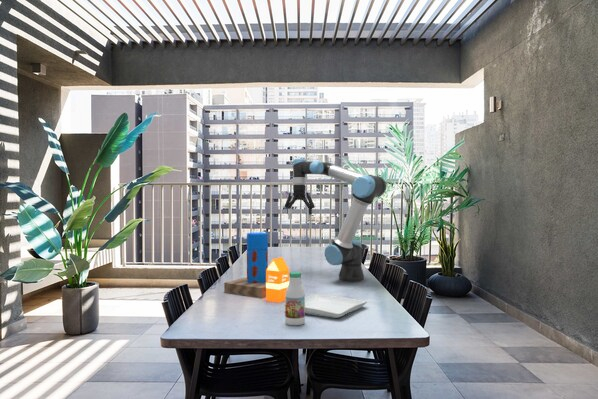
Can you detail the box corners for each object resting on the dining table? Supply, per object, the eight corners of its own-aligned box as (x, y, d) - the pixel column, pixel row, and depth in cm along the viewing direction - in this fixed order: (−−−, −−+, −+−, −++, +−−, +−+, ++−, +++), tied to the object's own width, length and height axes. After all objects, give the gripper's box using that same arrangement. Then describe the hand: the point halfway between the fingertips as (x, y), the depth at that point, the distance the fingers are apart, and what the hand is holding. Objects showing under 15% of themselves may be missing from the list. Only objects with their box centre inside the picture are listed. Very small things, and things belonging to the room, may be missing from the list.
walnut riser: (289, 289, 249) (289, 280, 249) (261, 298, 229) (261, 288, 229) (253, 284, 262) (253, 275, 262) (224, 292, 242) (224, 282, 242)
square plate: (340, 322, 189) (340, 313, 188) (283, 313, 203) (283, 304, 203) (367, 308, 212) (367, 299, 211) (314, 300, 226) (314, 292, 226)
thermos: (264, 283, 239) (264, 234, 239) (244, 283, 241) (244, 234, 241) (269, 279, 250) (269, 232, 249) (250, 279, 252) (250, 232, 252)
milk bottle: (284, 320, 190) (284, 271, 189) (303, 320, 190) (303, 270, 190) (285, 326, 182) (285, 274, 182) (305, 325, 183) (305, 274, 182)
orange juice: (289, 298, 228) (289, 257, 228) (279, 302, 221) (279, 259, 220) (275, 296, 232) (275, 256, 232) (265, 300, 224) (265, 258, 224)
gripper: (320, 184, 280) (320, 220, 281) (285, 184, 294) (285, 218, 294) (314, 184, 274) (313, 220, 274) (278, 184, 288) (278, 219, 288)
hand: (299, 219), depth 284 cm, fingers open, 13 cm apart
